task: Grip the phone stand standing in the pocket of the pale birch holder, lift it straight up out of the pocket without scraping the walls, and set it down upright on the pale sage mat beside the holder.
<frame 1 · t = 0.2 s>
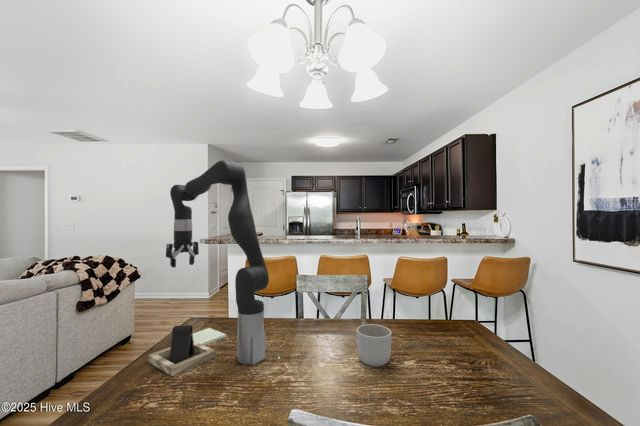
hand: (182, 265, 133), 29 cm above the table, tool pointing down, fingers open, 8 cm apart
phone stand: (182, 360, 107), resting in pocket holder
planter: (373, 361, 107), on the table
sage mat: (205, 337, 125), on the table
pocket holder: (182, 359, 107), on the table
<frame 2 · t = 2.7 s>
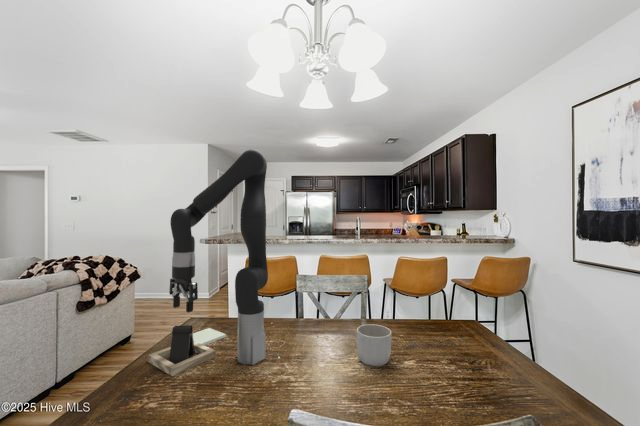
hand: (182, 309, 107), 18 cm above the table, tool pointing down, fingers open, 8 cm apart
nothing on the table moved.
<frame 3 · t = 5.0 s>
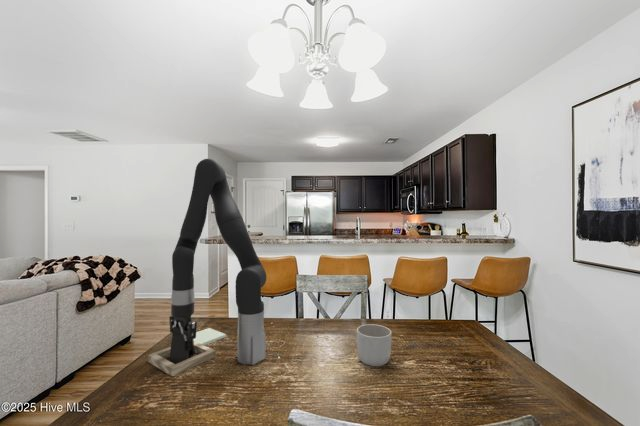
hand: (182, 347, 107), 4 cm above the table, tool pointing down, fingers closed on phone stand, 6 cm apart
phone stand: (182, 360, 107), resting in pocket holder, touching gripper
everything else where it was.
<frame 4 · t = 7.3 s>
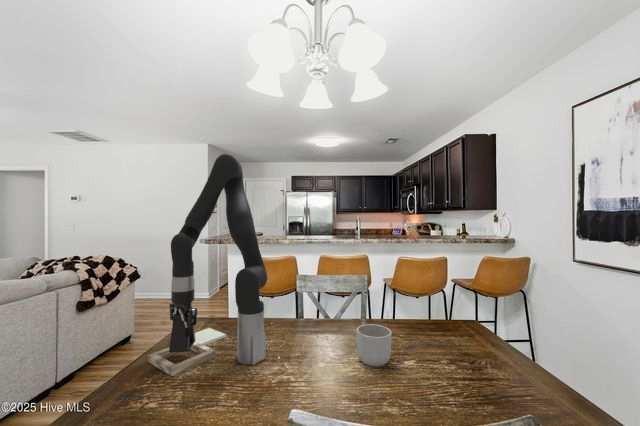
hand: (182, 334, 107), 9 cm above the table, tool pointing down, fingers closed on phone stand, 6 cm apart
phone stand: (182, 347, 106), point 4 cm above the table, touching gripper
everything else where it was.
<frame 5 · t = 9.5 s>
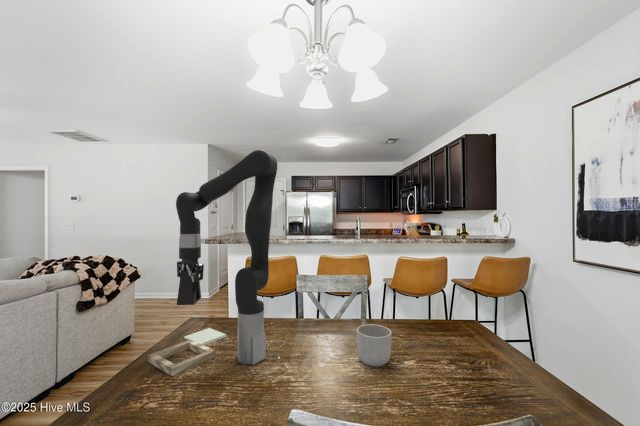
hand: (189, 290, 112), 24 cm above the table, tool pointing down, fingers closed on phone stand, 6 cm apart
phone stand: (189, 302, 111), point 19 cm above the table, touching gripper
everything else where it was.
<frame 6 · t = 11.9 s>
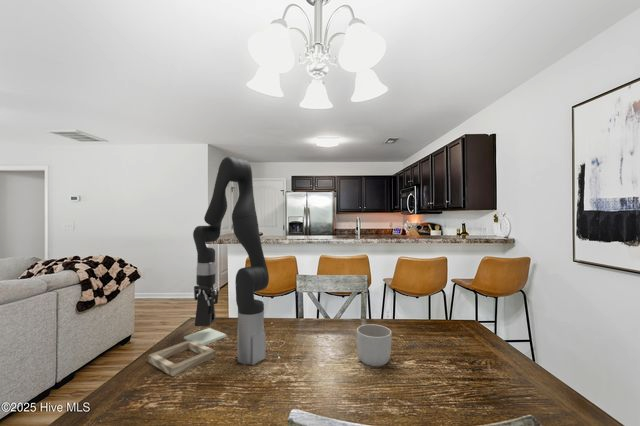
hand: (205, 312, 126), 11 cm above the table, tool pointing down, fingers closed on phone stand, 6 cm apart
phone stand: (205, 322, 125), point 6 cm above the table, touching gripper
everything else where it was.
when the fingers open (6 cm above the table, at t = 13.8 s): phone stand stays where it is, resting on sage mat.
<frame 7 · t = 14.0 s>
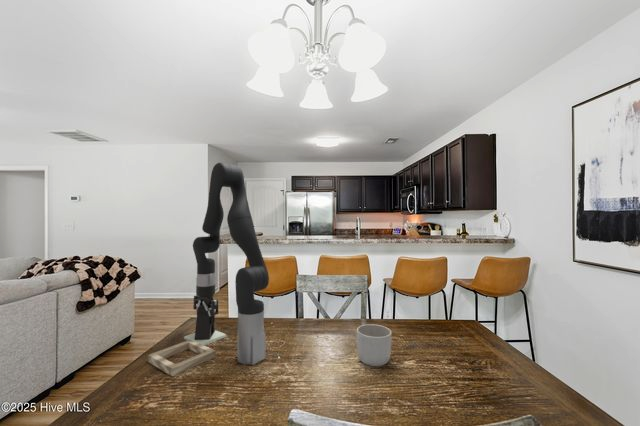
hand: (205, 322, 125), 7 cm above the table, tool pointing down, fingers open, 8 cm apart
phone stand: (205, 335, 125), point 1 cm above the table, touching sage mat
everything else where it was.
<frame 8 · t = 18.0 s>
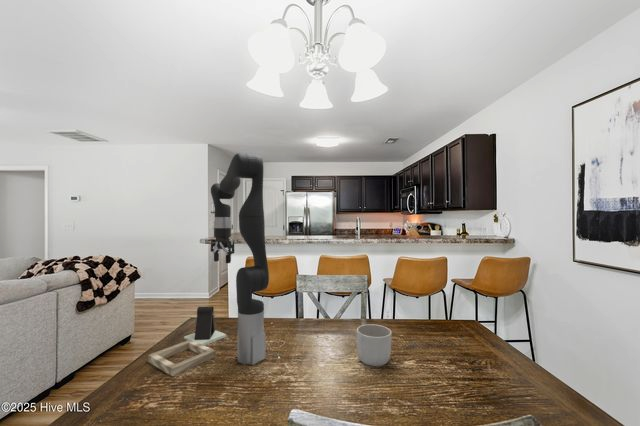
hand: (222, 262, 137), 30 cm above the table, tool pointing down, fingers open, 8 cm apart
nothing on the table moved.
at the end: phone stand inside the target area on the sage mat (0.1 cm from its centre), point 0.8 cm above the sage mat's base; phone stand tilted 0°; the gripper is holding nothing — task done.
